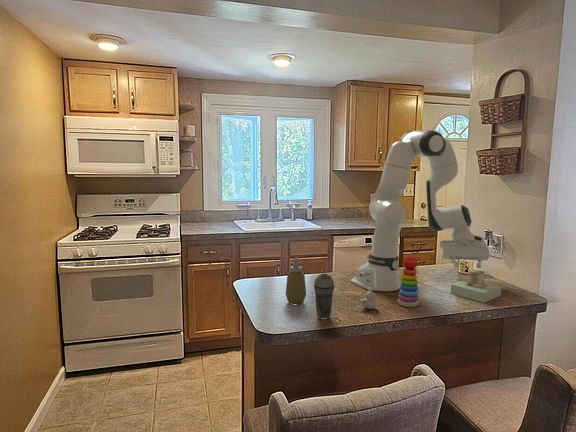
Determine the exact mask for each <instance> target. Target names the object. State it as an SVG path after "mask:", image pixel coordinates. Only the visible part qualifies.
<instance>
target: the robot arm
mask: <svg viewBox="0 0 576 432" xmlns="http://www.w3.org/2000/svg"><path fill="white" fill-rule="evenodd" d="M452 145H453V144H451V141H450V140H448V139H447V138H444V136H443V135H442V134H441V132H439V131H437V130H424V129H418V130H410V131H406V132H405V133H404V134H403V135H402V136H401V137H400V139H399V141H395V142H393V144H391V147H390V149H389V151H388V153H387V156H386V159H385V162H384V166H383V170H382V173H381V178H380V181H379V184H378V187H377V189H376V191H375V194H374V196H373V198H372V201H371V202H370V204H369V206H368V211H369V214H370V216H371V217H372V219H373V220H375V222H376V223H375V228H374V233H373V235H372V237H371V238H372V239H371V253H370V254H369V255H368V254H367V255H366V259H368V261H367V262H366V263H364V264H363V265H361V266H360V267H358V268H357V270H356V274H355V277H352V278H351V279H350V283H352V284H354V285H357V286H358V287H361V288H363V289H366V290H367V291H368V290H371V289H372V290H371V291H372V292H373V291H374V292H375V291H379V292H394V291H398V290H400V289H401V287H400V285H401V283H400V279H399V270H398V269H399V261H400V257H399V239H400V238H399V237H400V234H401V229H402V227H403V226H402V225H403V222H404V221H405V218H406V215H407V213H406V209H405V207H404V206H403V205H402V203H400V202H399V201H400V199H401V196H402V194H403V193H404V191H405V190H406V188H407V186H408V182H409V178H410V174H411V171H412V166H413V161H414V159H415V158H416V157H427V159H428V162H429V167H430V175H429V177H428V178H427V179H426V190H425V191H426V205H427V216H426V222H427V227H429V229H430V230H432V231H434V232H437V233H438V232H440V231H444V230H449V231H450V232H451V233H450V234H451V235H450V238H451V240H445V239H443V240H441V241H439V248H440V249H441V251H440V253H441V254H440V255H441V258H442V259H443V260H450V262H451V264H452V265H453V267H454V268H458V267H459V262H458V261H456V260H459V261H460V260H463V261H466V260H467V261H477V262H476V264H475V267H476V269H481V268H482V261H486V262H487V261H488V260H489V259H490V257H491V253H490V250H489V247H488V245H487V244H486V243H485V238H484V237H482V236H479V235H475V234H473V233H472V232H471V224H472V219H471V218H472V217H471V212H470V210H469V208H468V207H467V206H465V205H463V204H459V205H453V206H450V207H449V206H448V207H445V208H437V197H436V195H437V192H438V191H439V190H440V189H442V188H444V187H445V186H447V185H448V184H450V183H451V182H452V181H454V179H455V178H456V177H457V175H458V174H459V167H458V166H459V165H458V164H459V163H458V161H457V157H456V154H455V153H456V152H455V151H454V148H453V146H452Z"/></svg>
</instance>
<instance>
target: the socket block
mask: <svg viewBox="0 0 576 432" xmlns="http://www.w3.org/2000/svg"><path fill="white" fill-rule="evenodd" d="M450 294H451V295H455V296H458V297H461V298H465V299H468V300H471V301H476V302H480V303H484V304H485V303H487V302H489V301H492V300H495V299H496V298H499V297H501V294H502V286H501V285H497V284H493V283H490V282H489V283H488V282H485V281H484V287H482V288H480V289H479V288H475V287H471V286H468V278H466V279H463V280H460V281H457V282H454V283H451V284H450Z"/></svg>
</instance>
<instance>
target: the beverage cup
mask: <svg viewBox="0 0 576 432" xmlns="http://www.w3.org/2000/svg"><path fill="white" fill-rule="evenodd" d="M329 263H330V262H329V261H327V262H326V269H325V273H322V274H319V275H317V276H316V278H315V280H314V283H313V288H314V294H315V308H316V316H318V317H320V318H329V317H330V318H331V313H332V305H333V304H332V302H333V297H334V295H333V294H334V289H335V281H334V279H333V277H332V276H331V275H330V274H328V272H329V271H328V269H329ZM330 318H329V319H330Z"/></svg>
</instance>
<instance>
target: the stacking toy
mask: <svg viewBox="0 0 576 432" xmlns="http://www.w3.org/2000/svg"><path fill="white" fill-rule="evenodd" d="M403 266H404V268H403V270H402V272H403V273H402V274H401V280H400V289H399V293H398V294H397V297H398V299H397V304H398V305H400V306H402V307H405V308H415V307H417V306H419V304H420V301H419V291H418V288H419V286H418V282H419V281H418V280H417V279H418V277H417V273H418V271H417V269H416V268H417V266H418V260H417V258H415V257H414V256H406V257H405V258H404V260H403Z"/></svg>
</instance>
